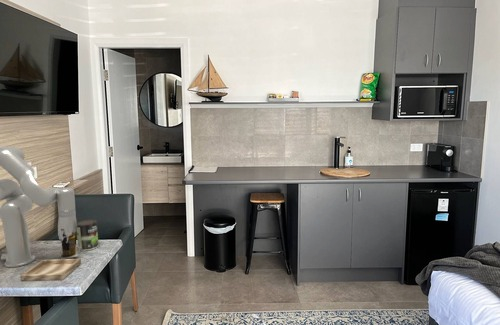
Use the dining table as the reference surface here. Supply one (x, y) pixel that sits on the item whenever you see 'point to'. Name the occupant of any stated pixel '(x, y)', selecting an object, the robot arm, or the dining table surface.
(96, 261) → the dining table surface
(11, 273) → the dining table surface
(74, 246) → the condiment
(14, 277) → the dining table surface
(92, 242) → the coffee can
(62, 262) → the tray
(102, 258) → the dining table surface
